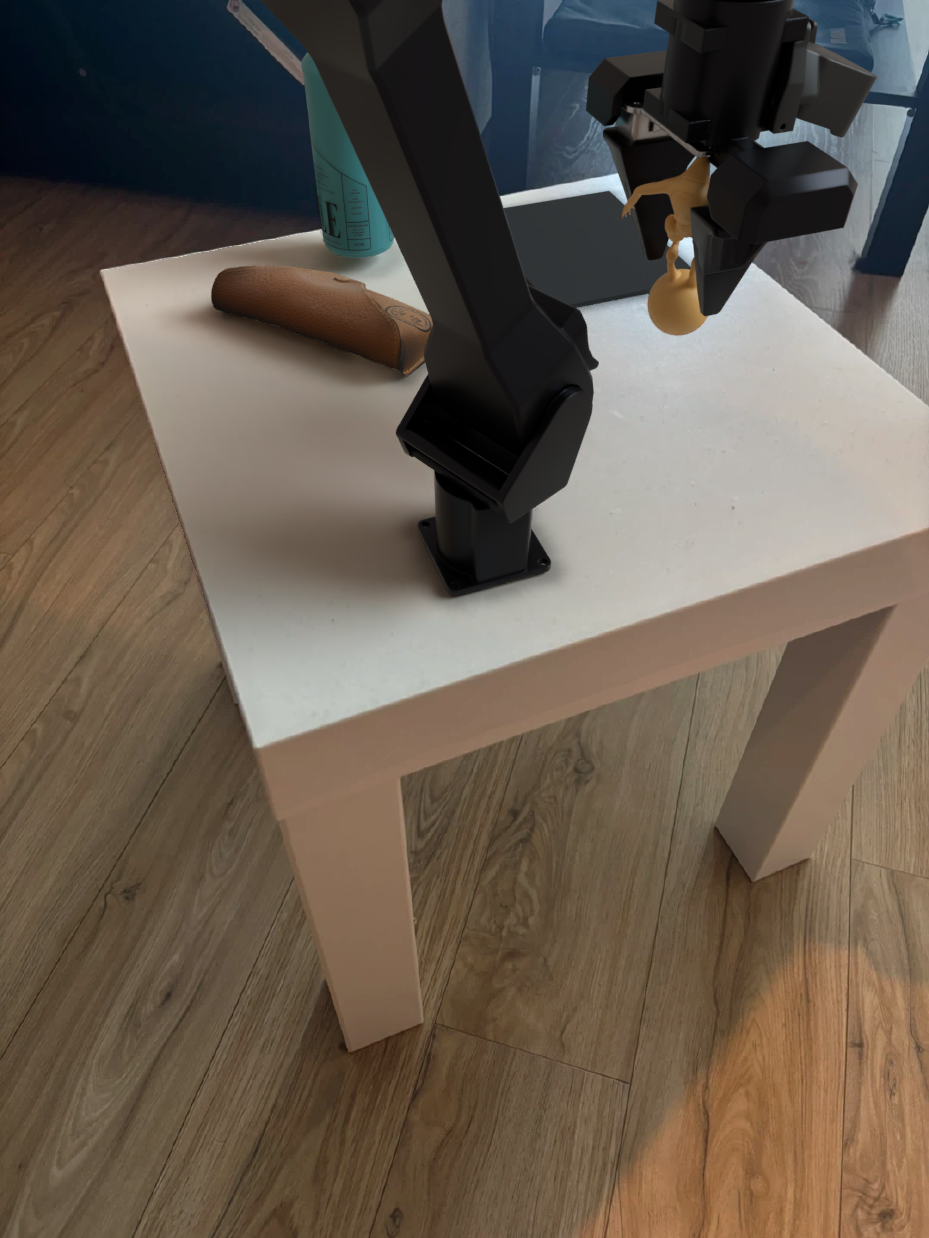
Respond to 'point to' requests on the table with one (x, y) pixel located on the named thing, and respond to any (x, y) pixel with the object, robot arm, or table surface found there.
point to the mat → (583, 249)
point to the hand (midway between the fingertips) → (681, 285)
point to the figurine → (677, 289)
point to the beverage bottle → (341, 179)
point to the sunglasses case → (327, 312)
